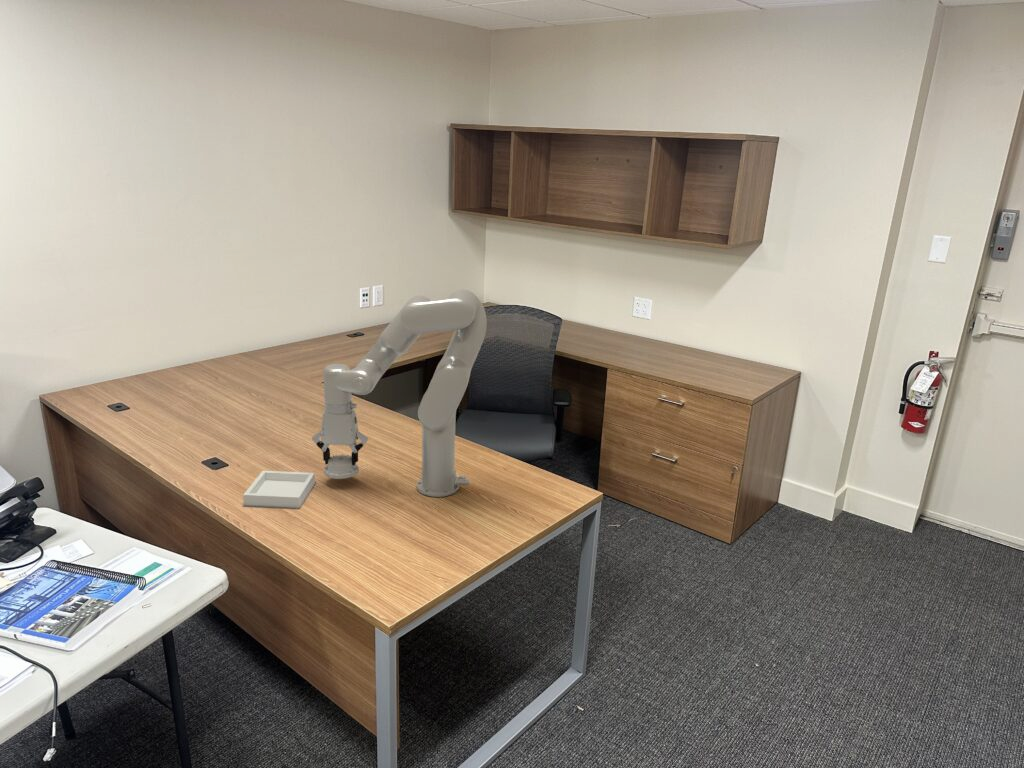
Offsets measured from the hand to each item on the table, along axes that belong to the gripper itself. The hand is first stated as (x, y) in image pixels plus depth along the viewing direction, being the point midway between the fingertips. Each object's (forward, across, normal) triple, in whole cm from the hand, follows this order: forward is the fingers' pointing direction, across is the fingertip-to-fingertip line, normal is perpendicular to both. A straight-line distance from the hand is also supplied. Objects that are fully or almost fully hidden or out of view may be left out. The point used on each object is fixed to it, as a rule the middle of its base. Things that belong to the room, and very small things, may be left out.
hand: (341, 462), depth 211 cm
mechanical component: (+3, 0, 0) cm, 3 cm away
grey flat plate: (+7, +15, +9) cm, 19 cm away
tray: (+6, +15, +9) cm, 19 cm away
